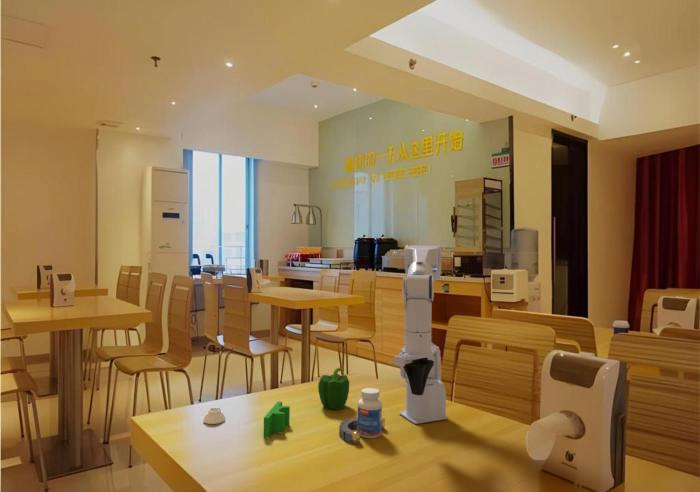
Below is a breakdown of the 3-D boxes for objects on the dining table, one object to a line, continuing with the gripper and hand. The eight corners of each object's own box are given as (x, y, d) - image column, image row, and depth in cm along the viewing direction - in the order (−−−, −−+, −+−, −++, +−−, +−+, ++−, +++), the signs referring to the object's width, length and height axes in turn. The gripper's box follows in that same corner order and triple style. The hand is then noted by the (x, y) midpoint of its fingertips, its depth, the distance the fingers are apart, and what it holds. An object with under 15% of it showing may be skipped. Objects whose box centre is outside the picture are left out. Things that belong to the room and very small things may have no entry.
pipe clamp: (280, 439, 101) (280, 418, 101) (263, 438, 101) (263, 417, 101) (292, 420, 112) (292, 401, 112) (277, 419, 112) (277, 400, 112)
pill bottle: (356, 438, 101) (356, 393, 101) (358, 428, 107) (358, 386, 107) (381, 439, 101) (381, 394, 101) (382, 429, 106) (382, 387, 106)
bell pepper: (327, 414, 116) (327, 374, 116) (313, 404, 123) (313, 367, 123) (356, 409, 120) (356, 370, 120) (340, 400, 127) (341, 363, 127)
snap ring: (386, 428, 107) (386, 419, 107) (356, 445, 98) (356, 434, 98) (359, 421, 111) (359, 411, 112) (328, 436, 102) (329, 426, 102)
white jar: (227, 423, 110) (223, 416, 114) (227, 411, 110) (223, 404, 114) (205, 427, 107) (202, 419, 112) (205, 414, 107) (202, 407, 112)
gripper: (420, 324, 108) (420, 383, 107) (382, 332, 97) (382, 397, 96) (447, 328, 103) (447, 389, 103) (410, 336, 92) (410, 405, 92)
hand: (417, 394), depth 99 cm, fingers closed
